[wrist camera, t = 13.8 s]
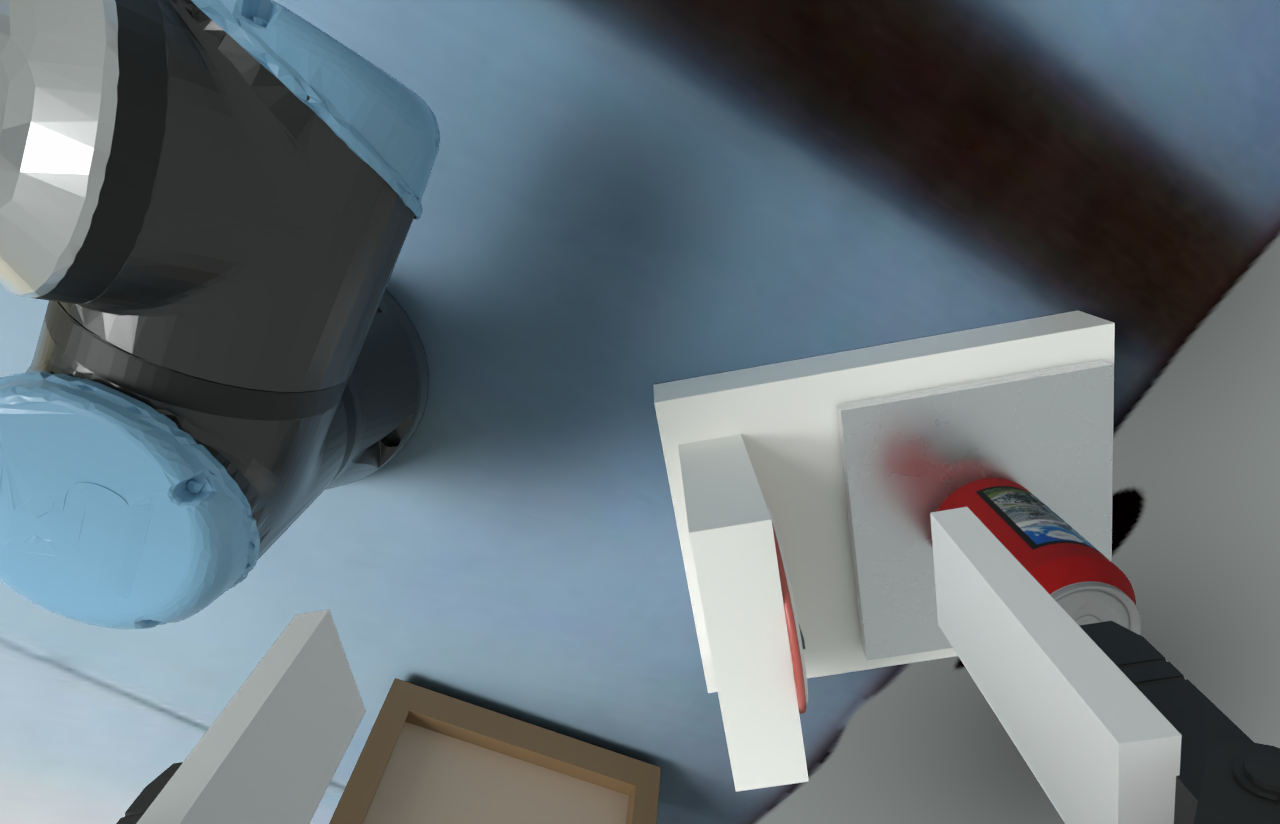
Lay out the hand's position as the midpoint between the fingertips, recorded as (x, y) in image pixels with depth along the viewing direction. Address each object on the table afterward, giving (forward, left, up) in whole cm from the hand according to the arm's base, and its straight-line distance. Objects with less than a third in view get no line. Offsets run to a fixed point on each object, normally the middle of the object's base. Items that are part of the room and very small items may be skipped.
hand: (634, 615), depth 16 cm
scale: (+14, -16, -35) cm, 41 cm away
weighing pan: (+19, -16, -30) cm, 39 cm away
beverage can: (+19, -16, -29) cm, 38 cm away
